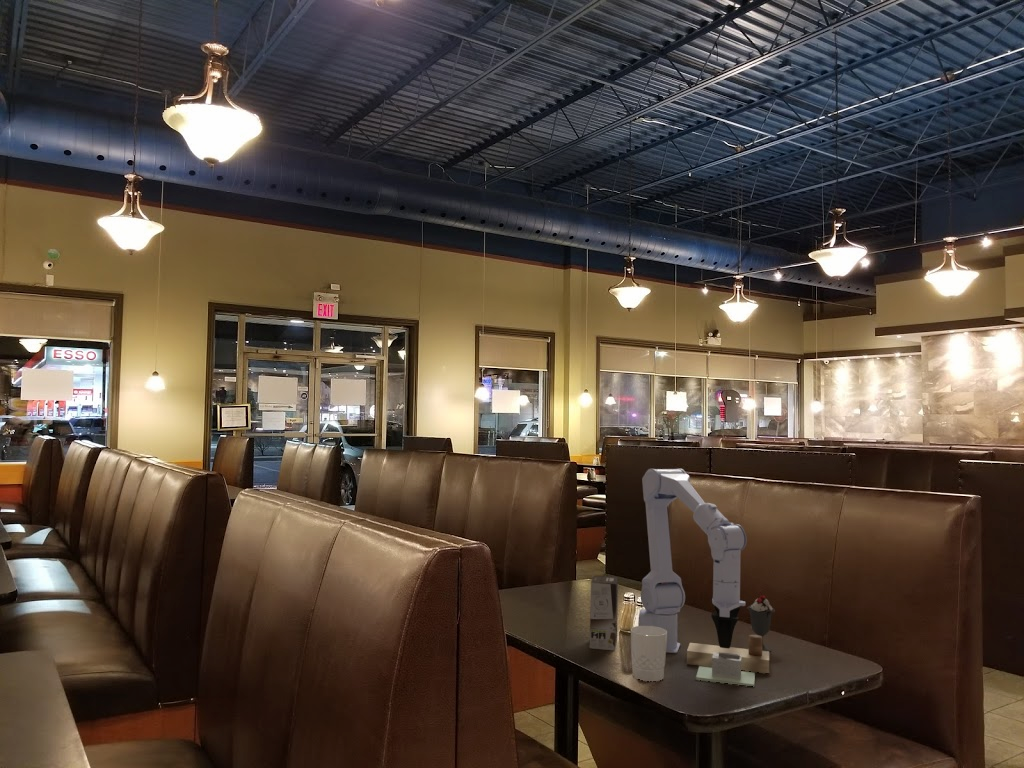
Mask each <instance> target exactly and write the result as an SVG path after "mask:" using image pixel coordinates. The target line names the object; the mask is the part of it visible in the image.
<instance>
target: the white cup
mask: <svg viewBox="0 0 1024 768" xmlns="http://www.w3.org/2000/svg"><path fill="white" fill-rule="evenodd" d="M666 644H667V631H666V630H665V629H662V628H659V627H654V626H637V625H636V626H632V627H631V628H630V651H631V652H630V656H631V665H632V669H631V670H632V677H633V676H634V677H635V678H634V677H633V678H634V679H636V678H637V679H636V680H638V679H640V680H639V681H641V680H643V682H647V681H649V683H653V681H656V682H661V681H662V679H663V680H664V679H665V678H664V677H665V667H666V659H667V657H666V655H667V652H666ZM660 680H661V681H660ZM650 681H652V682H650Z"/></svg>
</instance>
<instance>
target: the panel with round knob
mask: <svg viewBox="0 0 1024 768" xmlns="http://www.w3.org/2000/svg"><path fill="white" fill-rule="evenodd" d="M713 652H716V653H719V652H721V653H730V654H739V655H742V659H741V670H745V671H744V672H749V671H751V673H757V672H759V673H760V674H765V673H769V674H770V652H769V651H762V636H759V635H757V634H748V648H740V647H732V646H730V648H720V646H719V645H716V644H715V645H713V644H707V643H706V644H705V643H697V642H696V643H695V642H689V644H688V647H687V649H686V664H687V665H692V666H693V665H694V666H702V667H710V668H712V656H713ZM759 673H758V674H759Z"/></svg>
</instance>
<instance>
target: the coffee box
mask: <svg viewBox="0 0 1024 768" xmlns="http://www.w3.org/2000/svg"><path fill="white" fill-rule="evenodd" d="M618 593H619V578H618V576H606V575H605V576H597V575H595V576H593V577H592V579H591V582H590V614H589V615H590V617H589V618H590V619H589V648H590V649H594V650H605V651H615V650H616V646H617V642H618V605H619V604H618V601H619V600H618V599H619V597H618V595H619V594H618Z"/></svg>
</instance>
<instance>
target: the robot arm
mask: <svg viewBox="0 0 1024 768" xmlns="http://www.w3.org/2000/svg"><path fill="white" fill-rule="evenodd" d="M641 479H642V481H641V482H642V493H643V501H644V503H645V514H646V527H647V537H648V552H649V564H650V571H649V572H648V574H646V575H645V576H644V577H643V578H642V580H641V585H642V586H641V591H640V601H641V604H642V606H643V608H644V609H639V614H638V623H637V624H638V626H654V627H659V628H662V629H665V630H666V631H667V644H666V653H670V654H677V653H678V651H679V649H680V646H681V643H680V642H678V613H680V612H681V609H682V608H683V606H684V604H685V601H686V594H685V593H686V592H685V590H684V587H683V585H682V578H681V577H680V576H679V575H678V574H677V573H676V572H674V571H673V562H672V550H671V538H670V527H669V524H670V523H669V517H668V516H669V515H668V507H669V506H670V504H671V502H674V501H675V500H677V498H678V499H679V500H680V501H681V502H682V503H683V504H684V505H685V506H686V507H687V508H688V509H689V510H690V511H691V512H693V514H692V515H693V516H692V517H693V520H694V522H695V523H696V524H697V525H698V527H700V529H701V531H703V532H704V533H705V534H706V536H707V543H708V546H709V548H710V551H711V553H710V555H711V558H712V560H713V572H712V573H713V574H712V576H713V578H712V580H713V581H712V599H711V602H712V605H713V606H714V609H715V611H716V612H711V619H712V621H713V624H714V625H715V629H716V635H717V640H718V646H720V648H730V647H732V646H731V645H732V642H733V634H734V631H735V628H736V627H735V626H737V623H738V621H739V619H740V616H738V614H739V612H740V610H741V607H745V606H746V601H743V600H741V554H742V553H741V551H743V550H744V549H745V547H746V546H747V540H748V539H747V534H746V532H745V530H744V528H743V526H742V525H740V524H738V523H734V522H730V520H729V519H728V518H727V517H725V516H724V514H723V513H721V511H720V509H718V506H717V505H716V504H715V503H712V502H705V501H704V499H703V498H702V497H701V496H700V494H699V493H698V492H697V490H696V488H694V487H693V485H692V484H691V477H690V475H689V474H687V472H686V471H685V470H684V469H683V468H679V467H678V468H662V469H661V468H648V469H647V470H646V471H645V473H644V475H643V476H642V478H641Z"/></svg>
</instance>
